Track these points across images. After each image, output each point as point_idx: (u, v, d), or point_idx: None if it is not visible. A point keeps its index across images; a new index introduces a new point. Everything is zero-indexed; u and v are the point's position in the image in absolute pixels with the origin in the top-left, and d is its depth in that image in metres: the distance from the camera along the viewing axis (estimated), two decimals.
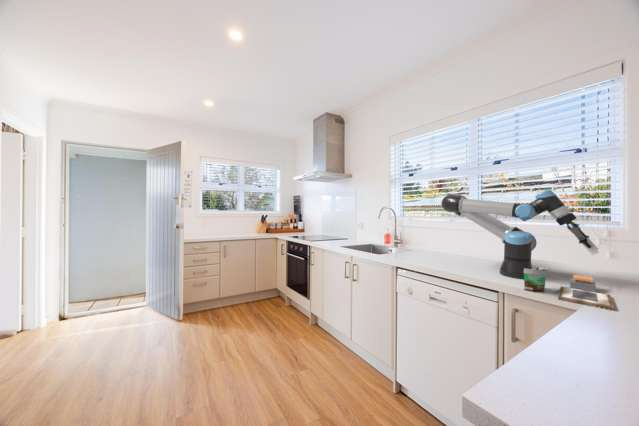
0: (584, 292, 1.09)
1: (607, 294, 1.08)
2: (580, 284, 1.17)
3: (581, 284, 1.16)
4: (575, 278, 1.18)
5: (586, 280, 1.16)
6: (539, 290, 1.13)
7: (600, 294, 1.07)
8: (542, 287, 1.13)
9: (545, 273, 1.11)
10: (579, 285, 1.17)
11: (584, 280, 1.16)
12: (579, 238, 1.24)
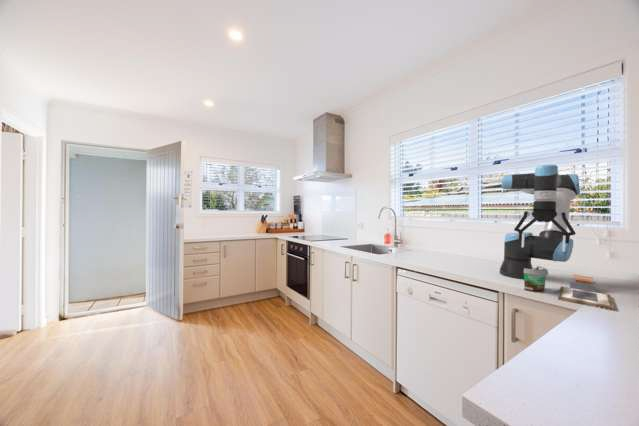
0: (584, 292, 1.09)
1: (607, 294, 1.08)
2: (580, 284, 1.17)
3: (581, 284, 1.16)
4: (575, 278, 1.18)
5: (586, 280, 1.16)
6: (539, 290, 1.13)
7: (600, 294, 1.07)
8: (542, 287, 1.13)
9: (545, 273, 1.11)
10: (579, 285, 1.17)
11: (584, 280, 1.16)
12: (516, 227, 1.21)
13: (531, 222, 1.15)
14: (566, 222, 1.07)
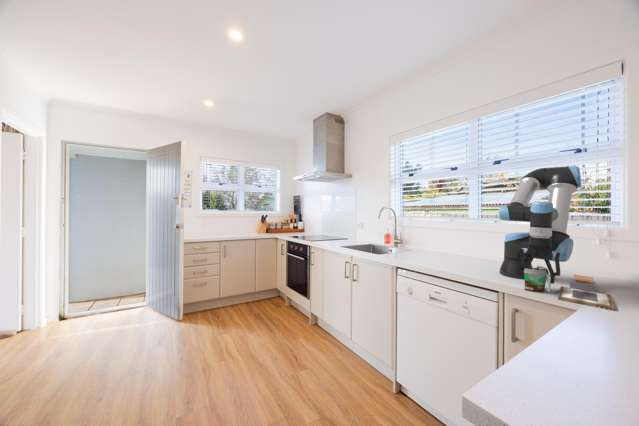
0: (584, 292, 1.09)
1: (607, 294, 1.08)
2: (580, 284, 1.17)
3: (581, 284, 1.16)
4: (575, 278, 1.18)
5: (586, 280, 1.16)
6: (539, 290, 1.12)
7: (600, 294, 1.07)
8: (542, 287, 1.13)
9: (545, 273, 1.11)
10: (579, 285, 1.17)
11: (584, 280, 1.16)
12: (519, 265, 1.20)
13: (530, 259, 1.15)
14: (556, 262, 1.09)
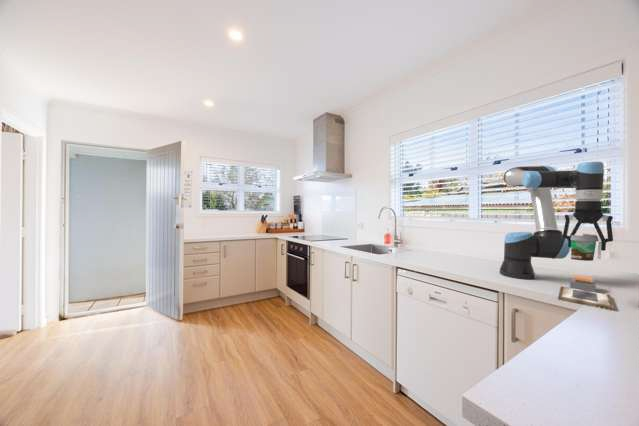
0: (584, 292, 1.09)
1: (607, 294, 1.08)
2: (580, 284, 1.17)
3: (581, 284, 1.16)
4: (575, 278, 1.18)
5: (586, 280, 1.16)
6: (588, 258, 1.03)
7: (600, 294, 1.07)
8: (592, 255, 1.03)
9: (596, 239, 1.02)
10: (579, 285, 1.17)
11: (584, 280, 1.16)
12: (563, 233, 1.10)
13: (577, 226, 1.06)
14: (608, 227, 1.00)
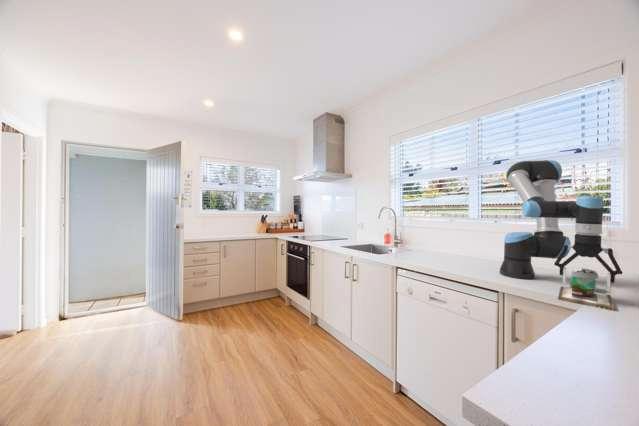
0: None
1: (607, 294, 1.08)
2: None
3: None
4: None
5: None
6: (589, 295, 1.03)
7: (600, 294, 1.07)
8: (592, 292, 1.03)
9: (596, 276, 1.02)
10: None
11: None
12: None
13: (573, 257, 1.07)
14: (612, 260, 0.99)
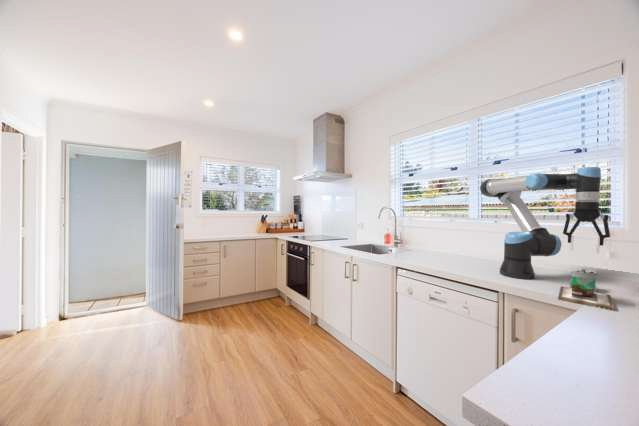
0: None
1: (607, 294, 1.08)
2: None
3: None
4: None
5: None
6: (589, 295, 1.03)
7: (600, 294, 1.07)
8: (592, 292, 1.03)
9: (596, 276, 1.02)
10: None
11: None
12: None
13: (576, 224, 1.19)
14: (605, 224, 1.13)
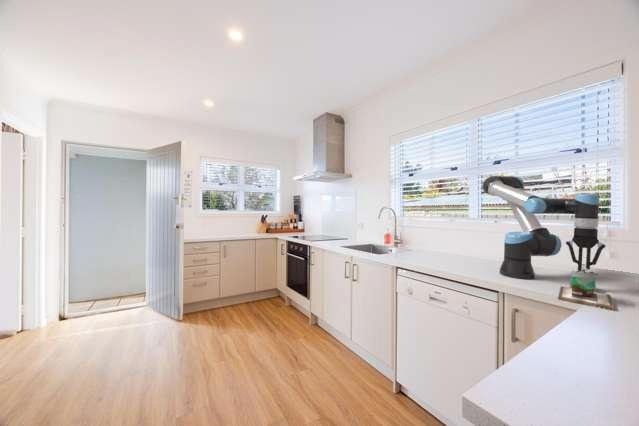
0: None
1: (607, 294, 1.08)
2: None
3: None
4: None
5: None
6: (589, 295, 1.03)
7: (600, 294, 1.07)
8: (592, 292, 1.03)
9: (596, 276, 1.02)
10: None
11: None
12: (572, 258, 1.21)
13: (580, 251, 1.18)
14: (598, 253, 1.14)
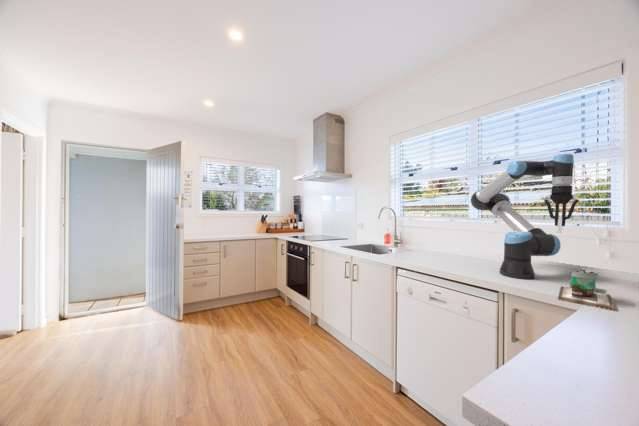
0: None
1: (607, 294, 1.08)
2: None
3: None
4: None
5: None
6: (589, 295, 1.03)
7: (600, 294, 1.07)
8: (592, 292, 1.03)
9: (596, 276, 1.02)
10: None
11: None
12: (550, 215, 1.33)
13: (557, 207, 1.29)
14: (572, 207, 1.26)
